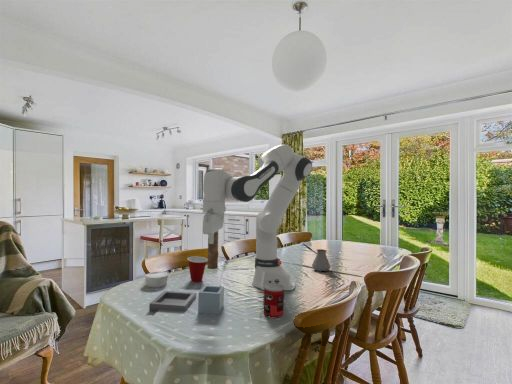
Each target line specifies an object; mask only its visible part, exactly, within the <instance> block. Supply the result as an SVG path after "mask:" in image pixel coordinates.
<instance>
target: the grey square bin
mask: <svg viewBox="0 0 512 384" xmlns="http://www.w3.org/2000/svg"><path fill="white" fill-rule="evenodd" d="M224 299H225V286H222V285H206V284H205V285H203V286H202V287H201V288H200V290H199V291H198V299H197V300H198V302H197V306H198V307H197V313H198V314H206V315H220V314H221V312H222V310H223V308H224V306H225V305H224V302H225V300H224Z"/></svg>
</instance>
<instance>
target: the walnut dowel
mask: <svg viewBox="0 0 512 384" xmlns="http://www.w3.org/2000/svg"><path fill="white" fill-rule="evenodd" d="M218 255H219V232H218V233H217V232H215V233H214V243H213V244H209V238H208V237H207V259H208V260H207V269H209V270H217V269H218V267H219V265H218V261H219V257H218Z"/></svg>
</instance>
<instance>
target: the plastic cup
mask: <svg viewBox="0 0 512 384" xmlns="http://www.w3.org/2000/svg"><path fill="white" fill-rule="evenodd" d="M187 261H188V268H189V275H190V281H191V282H193V283H199V282H200V283H201V282H202V281H203V279H204V274H205V269H206V264H207V263H208V257H207V258H206V257H203V256H198V255H197V256H196V255H195V256H190V257H187Z"/></svg>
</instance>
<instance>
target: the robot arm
mask: <svg viewBox="0 0 512 384" xmlns="http://www.w3.org/2000/svg"><path fill="white" fill-rule="evenodd" d="M257 167H258V170H256V171H255V172H253V173H252V174H250V175H243V176H233V175H231V174H229V172H227V171H225V169H224V168H223V167H221V168H220V167H218V168H210V169H207V170H206V171H205V172H204V175H203V183H202V184H203V185H202V189H203V198H202V213H205V214H203V217H202V218H203V219H202V234H203V235H207V239H208V238H209V244H213V243H214V233H215V232H217V233H218V234H219V230H222V229H223V226H224V223H225V222H224V221H225V220H224V219H225V213H226V200H231V201H240V202H243V203H248V202H250V201H252V200H253V199H255V197H256V196H257V194H258V193H259V191H260V190H261V189H262V187H263V186H265V185H266V184H267V183H268V182H269V181H271V179H273V178H274V177H275V176H276V175H277V174H278V173H280V172H281V171H282V172H283V175H282V176H281V177H280V179H279V180H278V182H277V184H276V185H275V187H274V189H273V190H272V192H271V194H270V195H269V198H268V200H267V202H266V204H265V206H264V208H263V210H261V211H259V212H258V213H257V215H256V218H255V240H256V241H255V243H256V244H255V245H256V246H255V257H254V275H253V278H252V282H251V285H252V286H253V287H255V288H258V289H260V290H262V291H264V286H265V285H267V284H279V285H282V286H284V291H293V290H294V289H295V288H296V283H295V282H294V281H293V280H292V279H291V275H290V272H289V271H288V270H286V269H285V268H284V267H283V266H282V260H281V259H280V258H278V256H277V255H278V238H277V230H278V229H279V228H280V226H281V224H282V221H283V219H284V216H285V214H286V212H287V210H288V208H289V206H290V204H291V202H292V201H293V199H294V197H295V195H296V194H297V192H298V189H300V186H301V182H302V180H304V179H306V178H307V177H309V176H310V174H311V172H312V170H313V162H312V160H310V159H309V158H308V157H305V156H303V155H301V154H299V153H297V152H294V151H293V148H292V147H291V146H290V145H288V144H284V143H282V144H279V145H276V146H274V147H272V148H271V149H270V148H269V150H267V151H265V152H264V153H263V154H261V155H260V156H259V157H258V159H257Z"/></svg>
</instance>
